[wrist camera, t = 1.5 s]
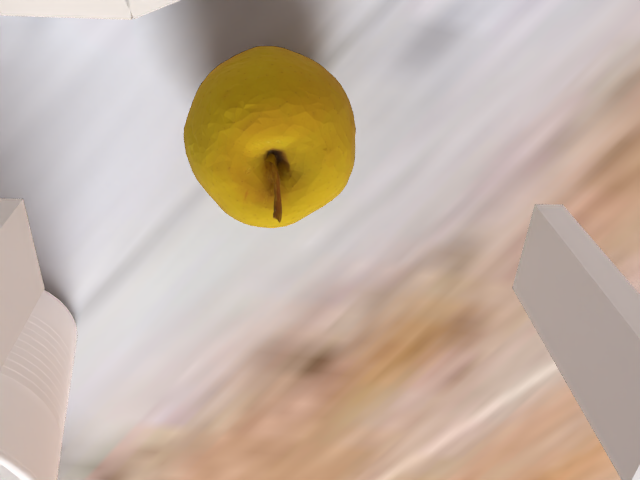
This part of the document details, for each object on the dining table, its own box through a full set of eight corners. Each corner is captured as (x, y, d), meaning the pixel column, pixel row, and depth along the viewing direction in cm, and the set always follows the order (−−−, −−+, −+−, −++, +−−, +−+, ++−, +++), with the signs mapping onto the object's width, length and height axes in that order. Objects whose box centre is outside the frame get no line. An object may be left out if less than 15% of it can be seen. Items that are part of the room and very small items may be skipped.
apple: (270, 195, 28) (272, 298, 21) (164, 99, 25) (128, 183, 19) (374, 103, 26) (413, 185, 19) (271, -11, 23) (274, 38, 17)
